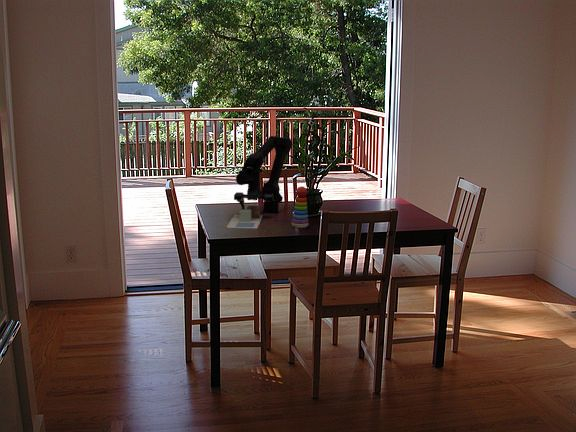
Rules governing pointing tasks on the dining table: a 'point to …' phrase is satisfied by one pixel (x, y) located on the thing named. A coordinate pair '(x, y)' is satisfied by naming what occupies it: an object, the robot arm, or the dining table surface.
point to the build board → (243, 223)
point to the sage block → (245, 215)
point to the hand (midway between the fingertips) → (253, 214)
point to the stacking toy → (300, 209)
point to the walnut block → (255, 211)
